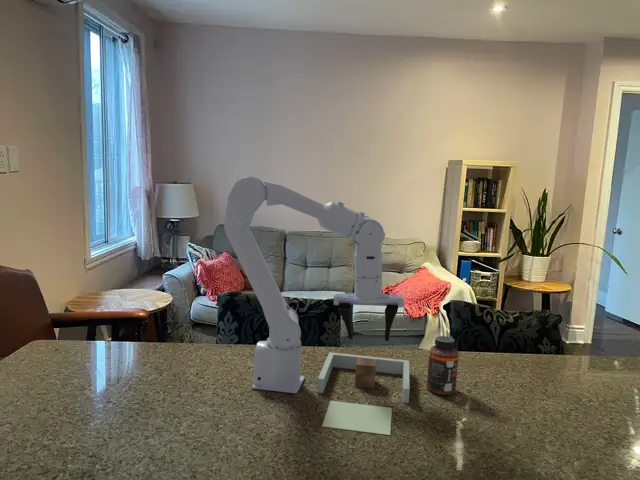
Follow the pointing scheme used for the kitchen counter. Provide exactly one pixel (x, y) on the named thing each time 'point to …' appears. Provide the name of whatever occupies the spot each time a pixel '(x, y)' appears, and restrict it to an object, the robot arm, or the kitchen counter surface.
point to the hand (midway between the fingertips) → (369, 338)
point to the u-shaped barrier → (350, 363)
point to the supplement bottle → (442, 366)
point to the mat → (358, 417)
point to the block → (365, 372)
